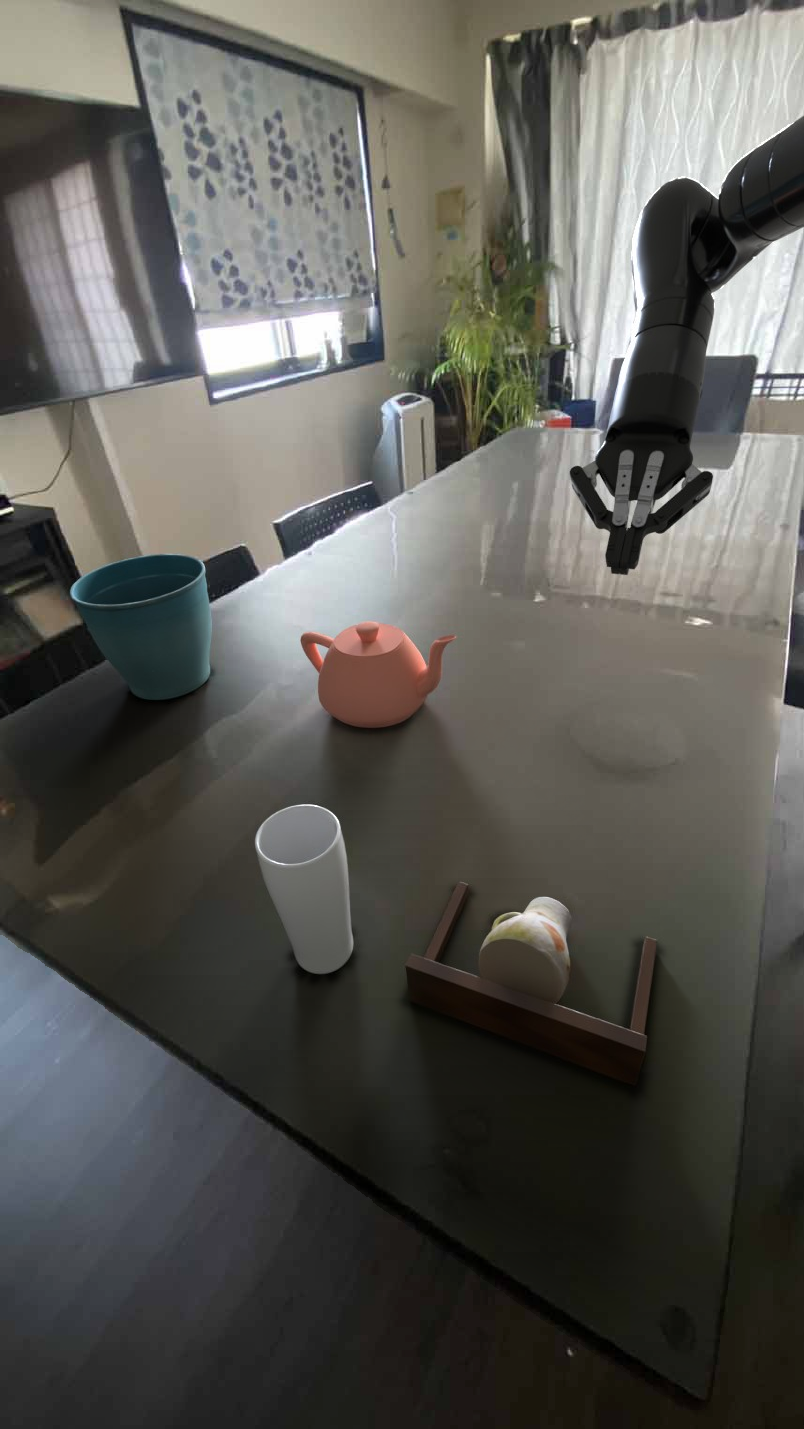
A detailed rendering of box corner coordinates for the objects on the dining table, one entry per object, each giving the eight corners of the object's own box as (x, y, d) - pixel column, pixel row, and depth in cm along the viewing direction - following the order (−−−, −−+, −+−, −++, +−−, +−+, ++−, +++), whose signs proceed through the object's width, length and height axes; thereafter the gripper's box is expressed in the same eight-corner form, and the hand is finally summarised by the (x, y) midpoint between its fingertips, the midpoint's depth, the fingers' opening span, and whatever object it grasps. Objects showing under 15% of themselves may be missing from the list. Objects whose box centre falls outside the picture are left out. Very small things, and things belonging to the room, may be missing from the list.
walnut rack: (654, 950, 55) (664, 913, 52) (635, 1086, 46) (645, 1052, 44) (458, 891, 62) (457, 855, 59) (409, 1000, 53) (405, 965, 50)
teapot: (472, 686, 91) (471, 608, 84) (441, 750, 80) (437, 666, 73) (332, 667, 98) (321, 594, 91) (286, 724, 87) (269, 645, 80)
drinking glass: (335, 997, 54) (307, 880, 45) (272, 965, 57) (234, 849, 48) (376, 935, 59) (358, 818, 50) (316, 908, 61) (289, 793, 53)
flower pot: (172, 642, 109) (142, 546, 99) (255, 663, 101) (231, 560, 91) (85, 697, 96) (40, 593, 86) (172, 725, 89) (134, 614, 79)
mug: (590, 927, 58) (608, 913, 49) (538, 1026, 55) (547, 1031, 46) (517, 882, 60) (522, 861, 51) (463, 975, 58) (458, 970, 48)
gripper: (581, 370, 59) (541, 547, 57) (741, 367, 54) (702, 561, 52) (587, 419, 65) (551, 579, 64) (729, 421, 61) (694, 594, 59)
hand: (619, 571), depth 58 cm, fingers closed
